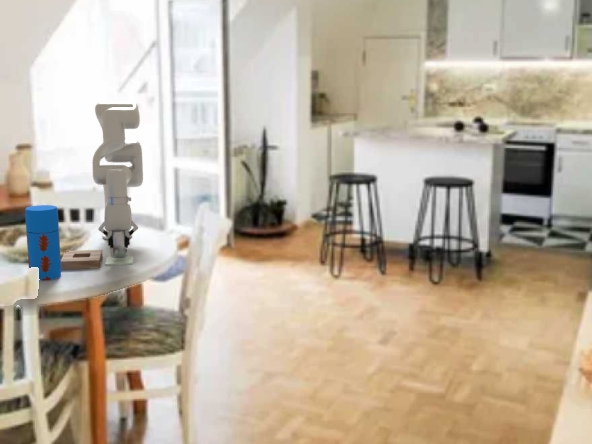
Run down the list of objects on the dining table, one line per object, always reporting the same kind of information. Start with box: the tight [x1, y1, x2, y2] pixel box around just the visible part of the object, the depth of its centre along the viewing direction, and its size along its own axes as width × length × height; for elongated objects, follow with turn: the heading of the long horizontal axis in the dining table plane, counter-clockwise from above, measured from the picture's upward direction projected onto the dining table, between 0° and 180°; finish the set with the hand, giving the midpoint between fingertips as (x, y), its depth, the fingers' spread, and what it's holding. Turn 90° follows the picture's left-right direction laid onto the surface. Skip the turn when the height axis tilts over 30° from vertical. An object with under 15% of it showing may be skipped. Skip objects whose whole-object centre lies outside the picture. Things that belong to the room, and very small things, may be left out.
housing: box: [61, 249, 104, 270], centre depth 279 cm, size 16×14×3 cm
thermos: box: [24, 204, 62, 282], centre depth 258 cm, size 11×11×25 cm
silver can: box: [111, 230, 128, 259], centre depth 280 cm, size 5×5×11 cm
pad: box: [105, 255, 134, 266], centre depth 282 cm, size 10×10×1 cm
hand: (119, 246), depth 281 cm, fingers closed on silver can, 5 cm apart
